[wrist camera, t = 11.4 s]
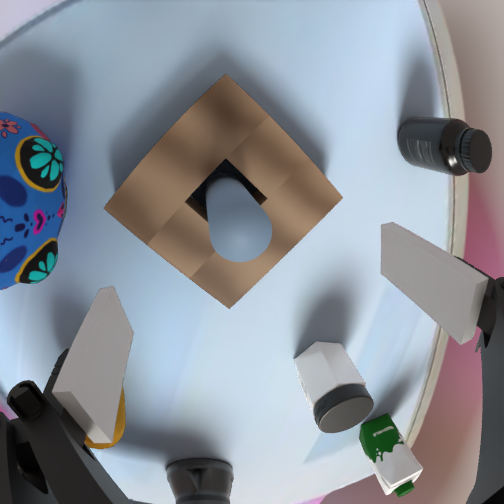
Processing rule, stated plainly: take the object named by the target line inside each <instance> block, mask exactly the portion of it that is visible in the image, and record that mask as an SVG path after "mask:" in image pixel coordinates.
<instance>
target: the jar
mask: <svg viewBox="0 0 504 504" xmlns="http://www.w3.org/2000/svg"><path fill="white" fill-rule="evenodd" d="M294 364H295V368H296V373H297V378H298V380H299V383H300V385H301V388H302V390H303V393H304V396H305V398H306V400H307V402H308V405H309V407H310V410H311V412H312V414H313V417H314V419H315V421H316V424H317V425H318V427H319V429H320V430H321V431H323V432H326V433H337V432H341V431H345V430H347V429H350V428H352V427H354V426H355V425H357V424H359V423H360V422H361V421H363V420H364V419H365V418H366V417H367V416H368V415H369V413H370V412H371V410H372V408H373V404H374V402H373V399H372V398H371V396H370V394H369V393H368V391H367V389H366V388H365V386H366V383H365V381H364V379H363V378H362V376H361V375H360V373H359V371H358V370H357V368H356V367H355V365H354V364H353V362H352V360H351V359H350V357H349V356H348V354H347V353H346V351H345V349H344V348H343V346H342V345H341V344H340V343H329V342H315V343H314V344H312V345H311V346H310V347H309V348H308V349H306V350H305V351H304V352H303V353H301V354H300V355H299V356H298V357H296V358H295V359H294Z"/></svg>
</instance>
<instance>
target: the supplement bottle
mask: <svg viewBox="0 0 504 504" xmlns="http://www.w3.org/2000/svg"><path fill="white" fill-rule="evenodd" d="M398 143H399V148H400V151H401V154H402V156H403V157H404V159H405V160H406V161H407V162H408V163H410V164H411V165H414V166H417V167H421V168H425V169H429V170H433V171H437V172H441V173H445V174H449V175H453V176H462V175H464V174H466V173H468V172H475V173H483V172H485V171H486V170H487V169H488V167H489V165H490V162H491V158H492V147H491V142H490V140H489V137H488V135H487V134H486V133H485V132H484V131H482V130H479V129H474V128H470V127H469V126H468V125H467V124H466V123H465V122H464V121H462V120H460V119H455V118H436V117H413V118H410V119H408V120H406V121H405V122H404V123H403V125H402V126H401V129H400V131H399V136H398Z"/></svg>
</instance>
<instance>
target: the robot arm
mask: <svg viewBox="0 0 504 504" xmlns="http://www.w3.org/2000/svg"><path fill="white" fill-rule="evenodd" d="M381 274H382V275H383V276H384V277H385V278H387V279H388V280H389V281H390V282H391V283H393V284H394V285H395V286H396V287H397V288H398V289H399V290H401V291H402V292H403V293H404V294H405V295H406V296H407V297H409V298H410V299H411V300H412V301H413V302H414V303H415V304H417V305H418V306H419V307H420V308H421V309H422V310H423V311H424V312H425V313H427V314H428V315H429V316H430V317H431V318H432V319H433V320H434V321H435V322H436V323H438V324H439V325H440V326H441V327H442V328H443V329H444V330H445V331H446V332H447V333H448V334H449V335H450V336H451V337H453V338H454V339H455V340H456V341H457V342H458V343H459V344H460V345H462V344H464V343H465V342H467V341H469V340H470V339H472V338H473V336H474V333H475V330H476V326H478V327H479V328H480V329H481V330H482V331H481V334H480V337H479V340H478V343H477V346H476V349H475V352H477V351H478V349H479V347H480V346H481V359H482V381H483V412H482V413H483V414H482V433H481V445H480V455H479V463H478V471H477V477H476V482H475V485H474V488H473V490H472V492H471V494H470V495H469V498H468V500H467V502H466V504H504V277H500V278H497V279H496V280H494V279H493V278H491V277H490V276H488V275H487V274H485V273H483V272H482V271H481V270H479V269H477V268H474V266H473V265H471V264H468V262H466V261H464V260H463V259H461V258H459V257H456V256H453V255H451V254H449V253H447V252H446V251H444V250H442V249H441V248H439V247H437V246H435V245H434V244H432V243H430V242H429V241H427V240H425V239H423V238H421V237H420V236H418V235H416V234H414V233H412V232H411V231H409V230H407V229H405V228H403V227H401V226H400V225H398V224H396V223H394V222H391V223H387V224H382V225H381ZM133 335H134V332H133V330H132V328H131V326H130V323H129V321H128V319H127V317H126V314H125V312H124V310H123V307H122V305H121V303H120V300H119V298H118V295H117V293H116V290H115V288H114V286H111V287H107V288H102V289H100V290H99V291H98V293H97V295H96V297H95V299H94V301H93V303H92V305H91V307H90V309H89V311H88V313H87V315H86V317H85V319H84V321H83V323H82V325H81V327H80V329H79V331H78V333H77V335H76V337H75V339H74V341H73V344H72V346H71V348H69V349H66V350H65V351H64V352H63V353H62V354H61V355H60V356H59V358H58V360H57V362H56V364H55V368H54V369H53V371H52V373H51V374H52V375H50V378H49V380H48V382H47V385H46V387H45V389H44V392H43V393H42V392H41V391H40V389H39V388H38V387H37V385H36V384H35V383H34V382H33V381H30V380H27V381H22V382H20V383H18V384H17V385H16V386H14V387H13V388H12V390H11V391H10V392H9V394H8V397H7V404H8V405H9V406H10V408H11V409H12V410H13V411H14V412H15V414H16V415H17V416H18V417H19V418H16V419H12V420H9V419H8V418H7V417H6V416H5V414H4V413H3V412H0V504H151V503H145V502H139V501H133V499H128V498H127V497H126V495H125V494H124V493H123V492H122V491H121V489H120V488H119V487H118V486H117V485H116V483H115V482H114V481H113V480H112V478H111V477H110V476H109V474H108V473H107V472H106V471H105V469H104V468H103V467H102V465H101V464H100V462H99V461H98V460H97V458H96V457H95V456H94V454H93V453H92V451H91V450H90V448H89V447H88V446H87V445H86V444H85V443H84V441H85V436H86V435H87V436H88V437H89V438H90V439H91V440H92V441H93V442H94V443H113V436H114V429H115V423H116V417H117V411H118V406H119V400H120V395H121V390H122V385H123V380H124V375H125V370H126V365H127V361H128V356H129V352H130V348H131V343H132V339H133ZM233 479H234V476H233V470H232V467H231V466H230V465H228V464H227V463H225V462H222V461H218V460H213V459H203V458H196V459H186V460H181V461H177V462H175V463H173V464H171V465H170V466H169V467H168V468H167V480H168V482H169V483H170V486H171V489H172V492H173V494H174V496H175V499H176V504H230V499H229V497H230V492H231V488H232V482H233Z"/></svg>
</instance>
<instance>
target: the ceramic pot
mask: <svg viewBox="0 0 504 504" xmlns="http://www.w3.org/2000/svg"><path fill="white" fill-rule="evenodd" d="M66 205H67V187H66V182H65V177H64V172H63V159H62V155H61V153H60V151H59V150H58V148H57V147H56V146H55V145H54V144H53V143H52V142H51V141H50V140H49V139H48V137H47V136H46V135H45V134H44V133H43V132H42V131H41V130H40V129H39V128H38V127H37V126H36V125H35V124H32V123H30V122H28V121H25V120H23V119H21V118H18V117H16V116H14V115H11V114H9V113H6V112H4V113H0V290H3V289H6V288H8V287H10V286H12V285H14V284H17V283H20V282H21V283H27V284H33V283H38V282H40V281H42V280H44V279H45V278H46V277H47V276H48V275H49V274H50V273H51V272H52V270H53V269H54V267H55V264H56V262H57V258H58V245H57V238H58V235H59V232H60V229H61V226H62V223H63V220H64V217H65V213H66Z"/></svg>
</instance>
